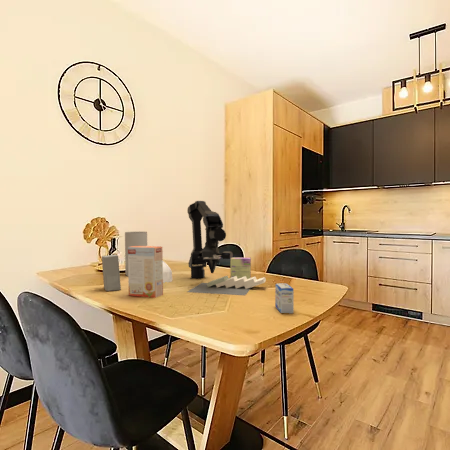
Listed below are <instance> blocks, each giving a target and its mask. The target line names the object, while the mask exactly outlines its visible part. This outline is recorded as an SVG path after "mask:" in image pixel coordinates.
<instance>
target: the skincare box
mask: <svg viewBox="0 0 450 450" xmlns="http://www.w3.org/2000/svg"><path fill="white" fill-rule="evenodd" d="M101 264H102V276H103V277H102V278H103V289H104V290H105V292H112V291H120V290H121V289H122V286H121V275H120V274H121V273H120V260H119V255H117V254H110V255H102V256H101Z"/></svg>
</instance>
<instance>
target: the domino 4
mask: <svg viewBox="0 0 450 450" xmlns="http://www.w3.org/2000/svg"><path fill="white" fill-rule="evenodd" d="M256 280H257V277H256V276H251V278H249V279H247V280H246V281H245V282H242V283H240V284H237V285H235V287H236V289H237V288H240V287H242V286H245V285H248V284H251V283H254V282H255V281H256Z"/></svg>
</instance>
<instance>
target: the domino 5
mask: <svg viewBox="0 0 450 450" xmlns="http://www.w3.org/2000/svg"><path fill="white" fill-rule="evenodd" d="M256 279H257V278H256ZM266 281H267V279H266V277H265V276H264V277H260V278H258V279H257V280H256V281H255V282H254V283H251V284H248V285H245V289H248V288H251V287H252V288H254V287H256V286H259V285H262V284H265V282H266ZM252 288H251V289H252Z"/></svg>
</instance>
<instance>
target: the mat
mask: <svg viewBox="0 0 450 450" xmlns="http://www.w3.org/2000/svg"><path fill="white" fill-rule="evenodd" d="M207 283H208V282H201V283H199V284H197V285H195V286H194V287H192V288H191V289H189V290H187V291H186V293H195V294H197V293H198V294H211V295H212V294H213V295H229V296H246V295H247V294H248V293H249V292H250V290H251V289H252V288H253V287H251V288H248V289H245V286H242V287H240V288H237V289H236V287H235V285H234V286H231V287H228V288H226V286H225V285H223V286H220V287H216V284H215V285H212V286H210V287H207Z"/></svg>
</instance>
